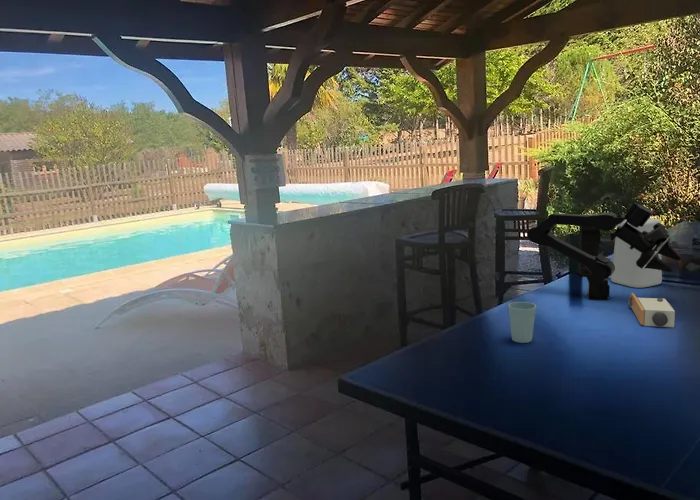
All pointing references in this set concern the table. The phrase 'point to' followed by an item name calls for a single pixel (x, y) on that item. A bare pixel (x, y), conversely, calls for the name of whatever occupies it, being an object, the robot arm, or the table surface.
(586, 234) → the portable radio
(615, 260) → the plastic bottle
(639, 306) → the side door
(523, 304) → the cup
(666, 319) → the camera housing
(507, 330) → the table surface
